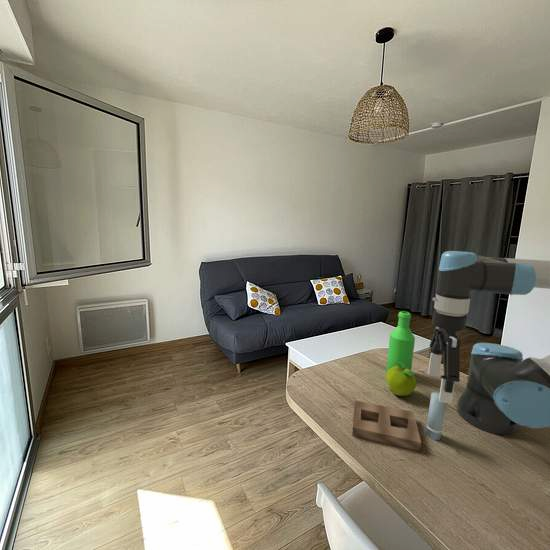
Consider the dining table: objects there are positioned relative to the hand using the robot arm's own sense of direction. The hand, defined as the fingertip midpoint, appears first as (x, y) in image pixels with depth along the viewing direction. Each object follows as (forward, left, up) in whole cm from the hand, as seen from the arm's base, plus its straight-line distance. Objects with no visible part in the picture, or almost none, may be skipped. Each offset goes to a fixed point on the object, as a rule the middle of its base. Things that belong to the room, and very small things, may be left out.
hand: (438, 387), depth 78 cm
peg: (0, 0, -15) cm, 15 cm away
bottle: (+6, -33, -15) cm, 37 cm away
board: (+13, +1, -14) cm, 19 cm away
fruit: (+7, -19, -15) cm, 25 cm away
